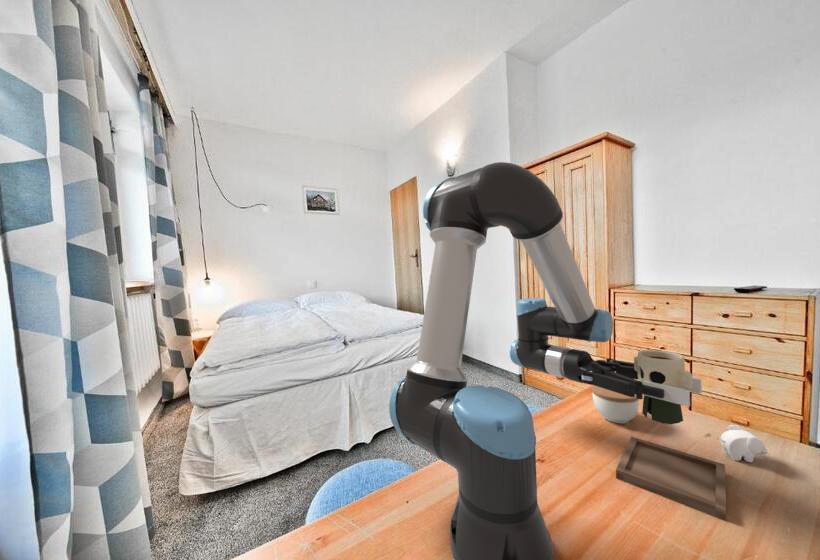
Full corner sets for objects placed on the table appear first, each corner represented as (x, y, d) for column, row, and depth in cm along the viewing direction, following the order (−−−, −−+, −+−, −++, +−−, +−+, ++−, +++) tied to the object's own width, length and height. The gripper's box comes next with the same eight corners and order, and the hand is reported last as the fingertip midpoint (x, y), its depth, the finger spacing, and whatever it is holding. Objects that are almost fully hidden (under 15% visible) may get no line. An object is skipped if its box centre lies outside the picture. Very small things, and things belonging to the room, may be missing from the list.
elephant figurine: (781, 471, 58) (780, 442, 58) (728, 465, 61) (727, 436, 61) (754, 451, 65) (754, 424, 64) (707, 446, 67) (707, 420, 67)
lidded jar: (650, 427, 76) (649, 391, 76) (608, 429, 76) (607, 393, 76) (621, 407, 87) (620, 375, 86) (584, 409, 87) (583, 377, 87)
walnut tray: (726, 521, 48) (726, 510, 48) (616, 478, 59) (615, 469, 59) (725, 473, 59) (724, 464, 59) (631, 444, 69) (631, 436, 69)
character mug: (622, 409, 64) (620, 349, 63) (649, 404, 65) (647, 345, 65) (677, 437, 53) (675, 365, 53) (708, 430, 54) (706, 360, 54)
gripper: (589, 368, 79) (709, 396, 61) (547, 390, 68) (679, 432, 49) (588, 341, 79) (708, 359, 60) (546, 357, 68) (678, 387, 49)
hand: (695, 392), depth 55 cm, fingers closed on character mug, 7 cm apart
